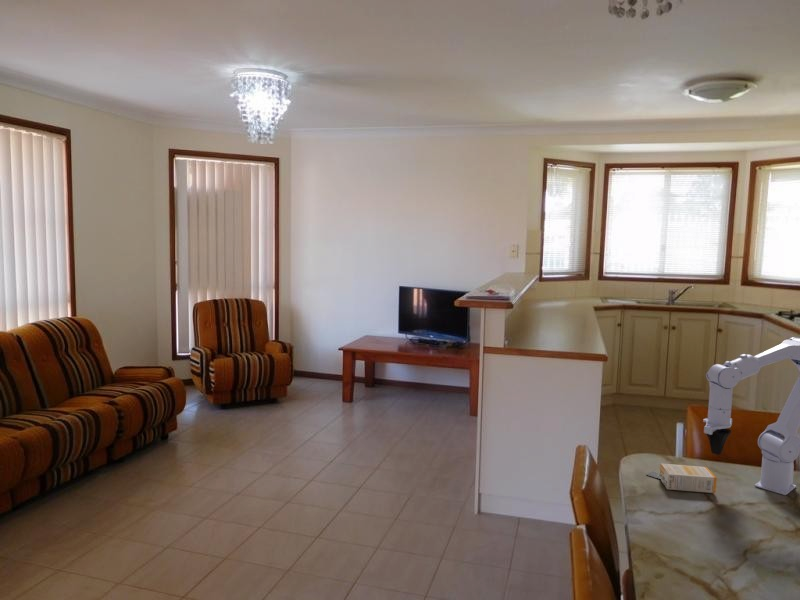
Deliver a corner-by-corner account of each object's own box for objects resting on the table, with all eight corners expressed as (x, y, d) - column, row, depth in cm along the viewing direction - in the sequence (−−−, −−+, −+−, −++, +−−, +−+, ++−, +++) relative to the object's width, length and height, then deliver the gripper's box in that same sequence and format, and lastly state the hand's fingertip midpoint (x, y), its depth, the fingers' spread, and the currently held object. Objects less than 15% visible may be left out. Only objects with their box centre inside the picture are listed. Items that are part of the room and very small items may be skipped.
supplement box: (705, 482, 173) (658, 478, 175) (707, 466, 173) (659, 462, 175) (715, 494, 165) (666, 490, 167) (717, 477, 165) (667, 473, 167)
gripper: (715, 399, 175) (712, 444, 177) (694, 408, 166) (690, 455, 167) (741, 405, 170) (737, 450, 171) (720, 414, 160) (717, 462, 162)
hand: (716, 453), depth 169 cm, fingers closed
